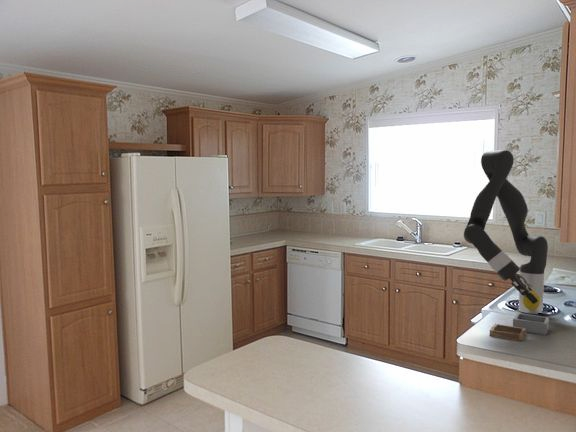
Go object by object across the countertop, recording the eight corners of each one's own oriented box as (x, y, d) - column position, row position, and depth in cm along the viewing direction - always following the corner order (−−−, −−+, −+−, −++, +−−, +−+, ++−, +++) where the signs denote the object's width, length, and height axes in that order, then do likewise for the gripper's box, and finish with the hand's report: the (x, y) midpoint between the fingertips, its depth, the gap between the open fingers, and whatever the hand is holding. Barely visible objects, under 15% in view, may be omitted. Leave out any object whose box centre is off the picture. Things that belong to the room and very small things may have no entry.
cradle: (494, 328, 171) (494, 323, 171) (525, 333, 166) (525, 328, 166) (489, 335, 163) (489, 330, 163) (522, 341, 157) (522, 335, 157)
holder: (516, 322, 180) (517, 312, 180) (548, 327, 174) (549, 317, 174) (512, 329, 171) (513, 318, 171) (546, 334, 165) (546, 323, 165)
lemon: (524, 308, 176) (525, 288, 176) (540, 311, 173) (541, 290, 172) (520, 311, 172) (522, 290, 171) (537, 314, 168) (538, 292, 168)
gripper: (508, 261, 170) (543, 298, 163) (514, 257, 181) (546, 292, 175) (492, 274, 173) (526, 310, 167) (498, 269, 185) (530, 303, 179)
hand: (536, 300), depth 171 cm, fingers closed on lemon, 5 cm apart
